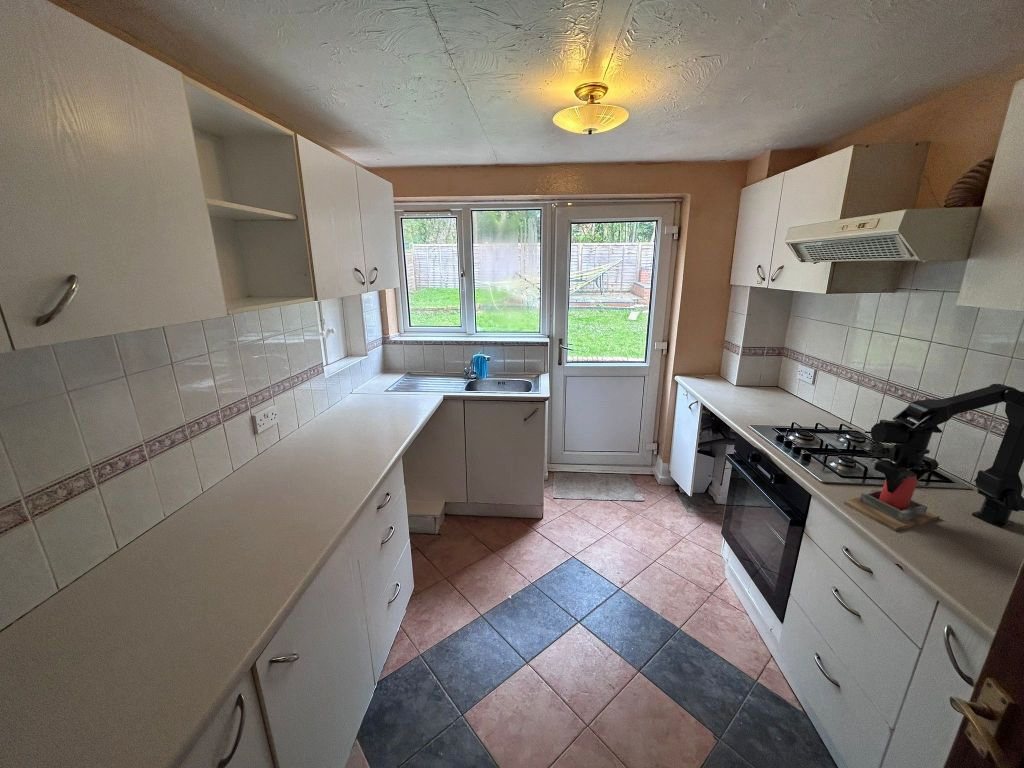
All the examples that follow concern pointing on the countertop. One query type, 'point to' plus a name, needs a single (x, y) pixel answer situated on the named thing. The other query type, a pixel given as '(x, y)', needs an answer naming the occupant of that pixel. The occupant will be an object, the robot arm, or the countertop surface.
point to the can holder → (890, 511)
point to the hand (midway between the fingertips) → (897, 490)
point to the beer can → (900, 492)
